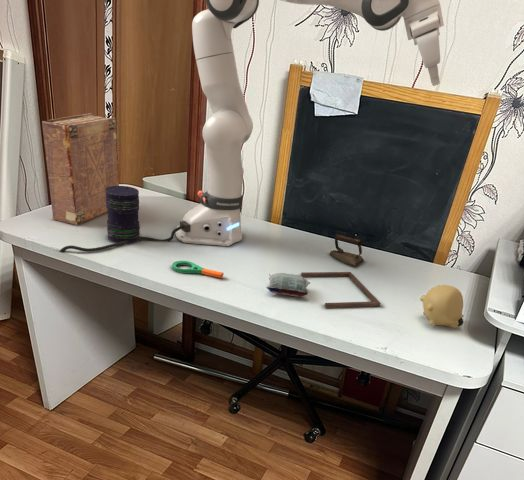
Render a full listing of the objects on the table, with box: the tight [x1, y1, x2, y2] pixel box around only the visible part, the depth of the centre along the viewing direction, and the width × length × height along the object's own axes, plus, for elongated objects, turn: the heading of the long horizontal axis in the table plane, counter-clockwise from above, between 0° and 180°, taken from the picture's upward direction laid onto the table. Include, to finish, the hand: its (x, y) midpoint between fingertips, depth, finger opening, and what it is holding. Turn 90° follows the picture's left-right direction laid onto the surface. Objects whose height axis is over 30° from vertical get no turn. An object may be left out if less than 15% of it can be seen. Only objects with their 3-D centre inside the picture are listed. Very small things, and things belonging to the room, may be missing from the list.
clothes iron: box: [329, 233, 365, 268], centre depth 161 cm, size 7×11×10 cm, turn 57°
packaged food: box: [265, 272, 311, 297], centre depth 137 cm, size 9×12×5 cm
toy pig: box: [419, 284, 464, 328], centre depth 130 cm, size 10×12×11 cm
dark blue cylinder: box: [105, 185, 141, 245], centre depth 153 cm, size 10×10×15 cm
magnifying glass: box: [171, 260, 224, 279], centre depth 141 cm, size 15×6×2 cm, turn 71°
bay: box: [300, 271, 382, 309], centre depth 142 cm, size 16×20×1 cm
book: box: [41, 112, 120, 226], centre depth 165 cm, size 25×9×30 cm, turn 162°
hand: (435, 84), depth 131 cm, fingers open, 8 cm apart
